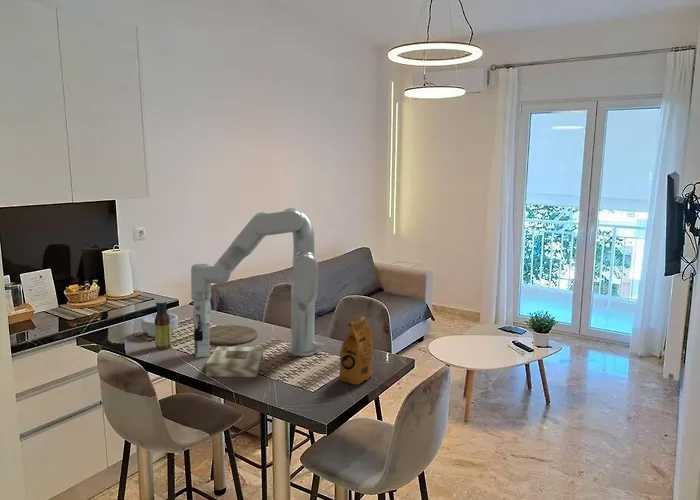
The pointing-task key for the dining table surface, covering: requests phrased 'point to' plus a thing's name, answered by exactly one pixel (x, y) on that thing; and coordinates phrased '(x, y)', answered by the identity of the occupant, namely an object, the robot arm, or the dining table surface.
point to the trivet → (231, 335)
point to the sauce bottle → (162, 326)
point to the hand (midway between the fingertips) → (201, 336)
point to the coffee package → (357, 353)
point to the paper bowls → (149, 323)
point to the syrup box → (203, 343)
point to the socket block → (235, 362)
